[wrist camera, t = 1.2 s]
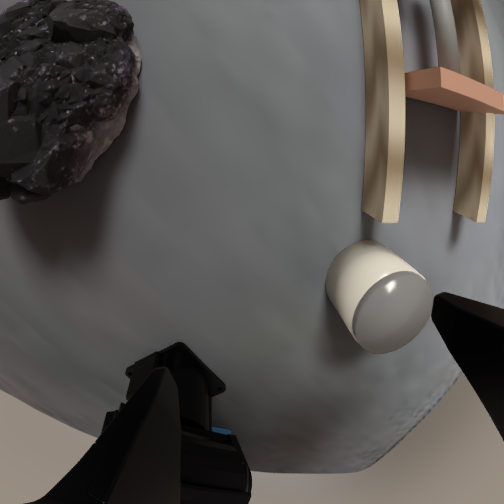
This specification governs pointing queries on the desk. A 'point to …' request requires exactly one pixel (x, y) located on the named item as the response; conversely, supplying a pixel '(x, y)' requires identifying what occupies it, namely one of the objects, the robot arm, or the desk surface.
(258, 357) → the desk surface
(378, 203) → the lane
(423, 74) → the pusher
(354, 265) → the jar
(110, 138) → the dark rock
